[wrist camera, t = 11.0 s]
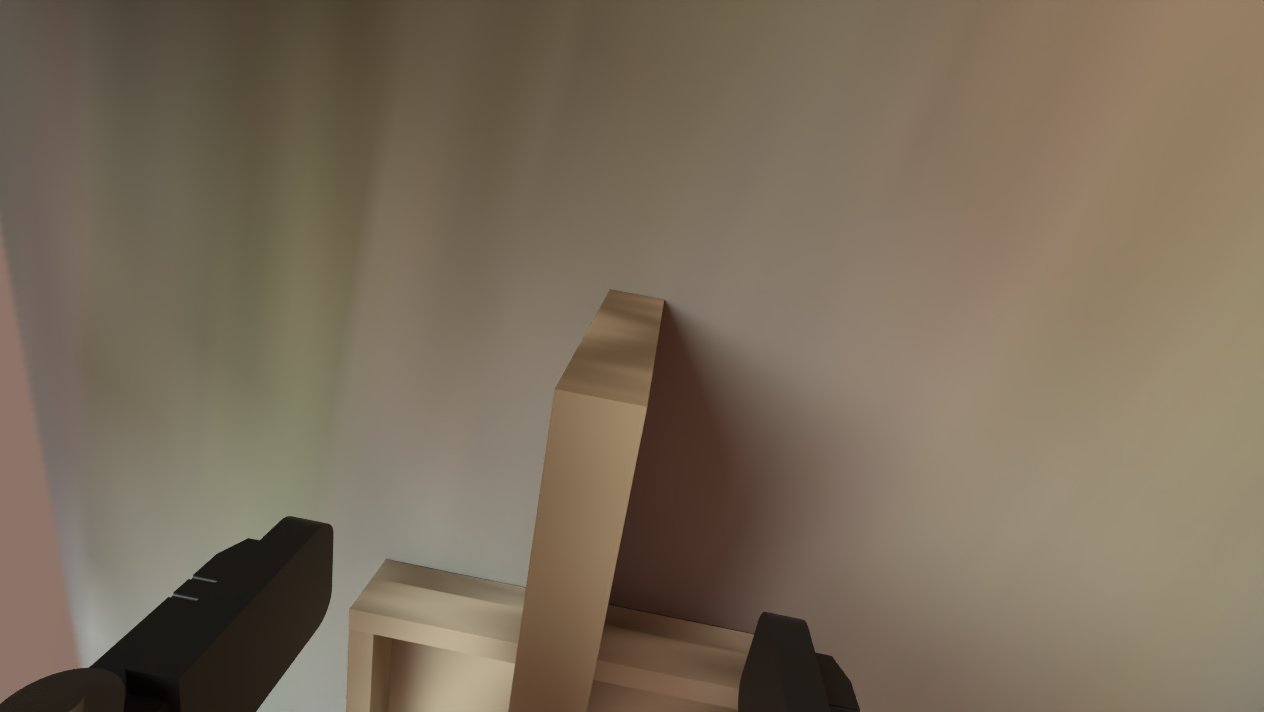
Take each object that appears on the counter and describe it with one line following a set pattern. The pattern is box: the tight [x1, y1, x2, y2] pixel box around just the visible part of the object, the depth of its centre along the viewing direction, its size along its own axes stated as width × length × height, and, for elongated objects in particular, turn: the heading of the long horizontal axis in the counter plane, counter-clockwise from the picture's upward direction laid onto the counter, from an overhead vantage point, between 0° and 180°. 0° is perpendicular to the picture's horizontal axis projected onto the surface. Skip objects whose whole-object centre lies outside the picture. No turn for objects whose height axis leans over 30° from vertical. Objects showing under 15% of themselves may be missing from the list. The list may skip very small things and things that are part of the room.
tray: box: [346, 289, 754, 712], centre depth 18 cm, size 14×23×8 cm, turn 170°
